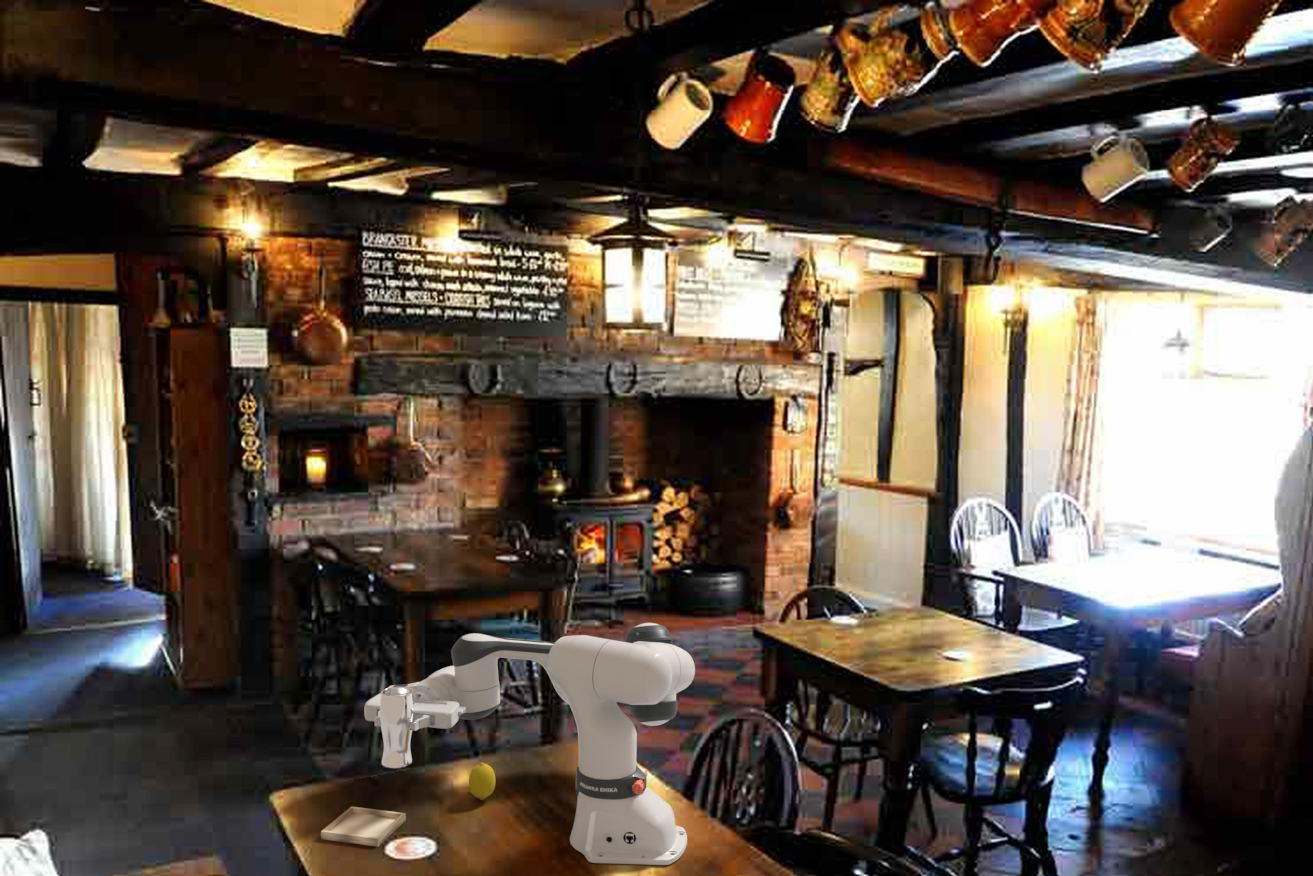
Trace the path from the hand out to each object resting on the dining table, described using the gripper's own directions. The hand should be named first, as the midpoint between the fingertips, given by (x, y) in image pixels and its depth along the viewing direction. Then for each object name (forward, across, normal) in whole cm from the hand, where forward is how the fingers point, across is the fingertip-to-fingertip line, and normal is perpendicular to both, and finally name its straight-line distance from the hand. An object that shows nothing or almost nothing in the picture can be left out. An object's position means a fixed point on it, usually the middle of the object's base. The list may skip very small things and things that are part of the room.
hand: (394, 725), depth 202 cm
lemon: (-7, -16, -17) cm, 25 cm away
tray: (+12, 0, -17) cm, 20 cm away
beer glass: (-1, 0, -8) cm, 9 cm away
